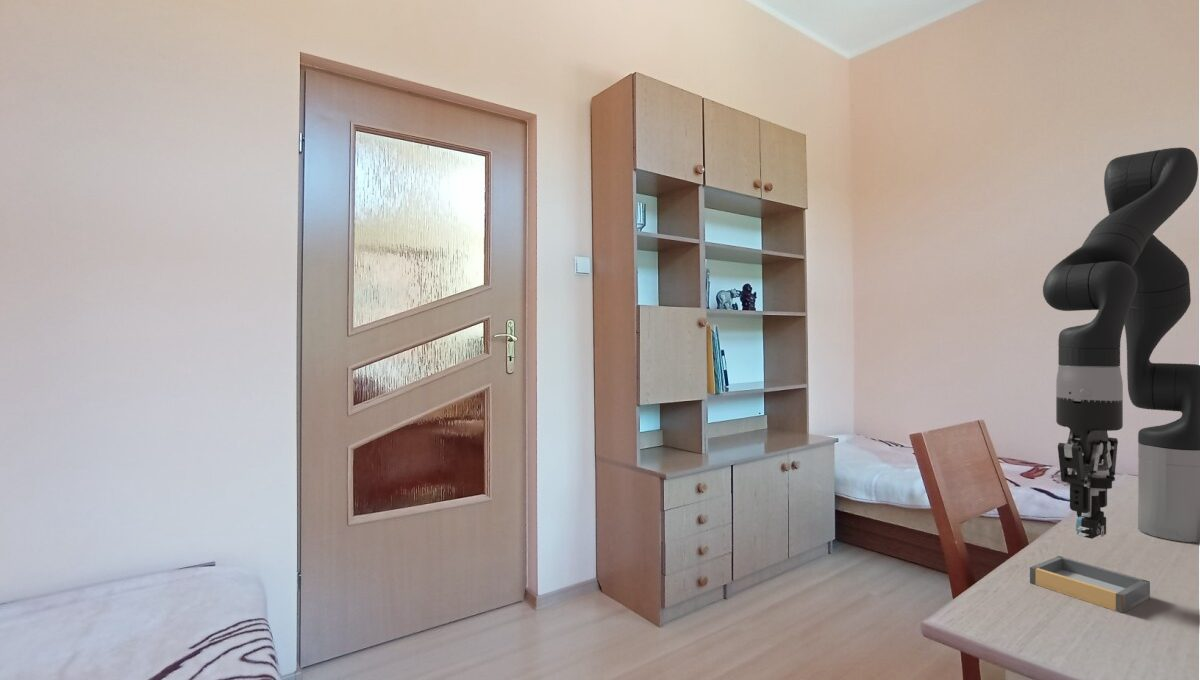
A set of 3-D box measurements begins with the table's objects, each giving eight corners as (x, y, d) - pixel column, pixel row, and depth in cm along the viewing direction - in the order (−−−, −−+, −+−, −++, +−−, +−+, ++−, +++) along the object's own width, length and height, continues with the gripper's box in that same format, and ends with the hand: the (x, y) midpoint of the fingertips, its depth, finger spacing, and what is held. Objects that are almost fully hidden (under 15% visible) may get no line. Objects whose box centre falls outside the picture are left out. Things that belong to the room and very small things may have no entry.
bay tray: (1058, 570, 91) (1058, 555, 91) (1149, 597, 81) (1149, 581, 81) (1029, 582, 86) (1029, 567, 86) (1122, 613, 76) (1122, 595, 76)
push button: (1103, 545, 79) (1104, 475, 79) (1057, 533, 84) (1058, 467, 84) (1119, 536, 83) (1120, 469, 83) (1074, 526, 87) (1075, 462, 87)
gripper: (1079, 392, 90) (1079, 496, 90) (1035, 395, 83) (1035, 509, 83) (1140, 396, 84) (1140, 508, 84) (1099, 400, 77) (1099, 523, 77)
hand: (1088, 508), depth 84 cm, fingers closed on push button, 5 cm apart
